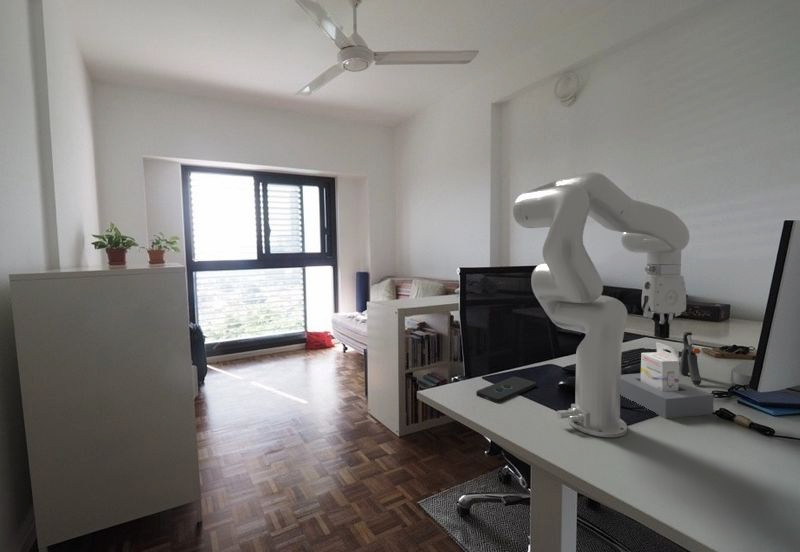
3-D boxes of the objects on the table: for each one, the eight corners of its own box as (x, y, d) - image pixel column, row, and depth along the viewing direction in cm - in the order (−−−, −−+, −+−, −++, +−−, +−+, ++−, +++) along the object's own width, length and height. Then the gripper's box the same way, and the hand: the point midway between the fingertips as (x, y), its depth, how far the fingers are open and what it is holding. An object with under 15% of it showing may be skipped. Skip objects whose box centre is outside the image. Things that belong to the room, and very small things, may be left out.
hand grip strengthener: (693, 386, 114) (695, 338, 113) (679, 373, 126) (680, 329, 125) (702, 387, 113) (704, 338, 112) (687, 374, 125) (688, 330, 124)
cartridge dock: (665, 418, 93) (665, 399, 92) (613, 391, 111) (613, 375, 110) (712, 413, 95) (713, 394, 95) (654, 388, 113) (654, 372, 112)
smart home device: (474, 390, 110) (514, 375, 123) (474, 396, 110) (514, 380, 123) (498, 398, 104) (537, 382, 116) (498, 405, 104) (537, 387, 116)
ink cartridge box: (638, 392, 107) (640, 342, 106) (655, 391, 108) (656, 341, 107) (661, 404, 99) (663, 350, 98) (679, 403, 99) (681, 349, 98)
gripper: (650, 272, 95) (648, 342, 97) (700, 270, 98) (698, 339, 99) (628, 270, 103) (626, 336, 104) (675, 269, 105) (673, 332, 107)
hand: (661, 337), depth 102 cm, fingers closed
